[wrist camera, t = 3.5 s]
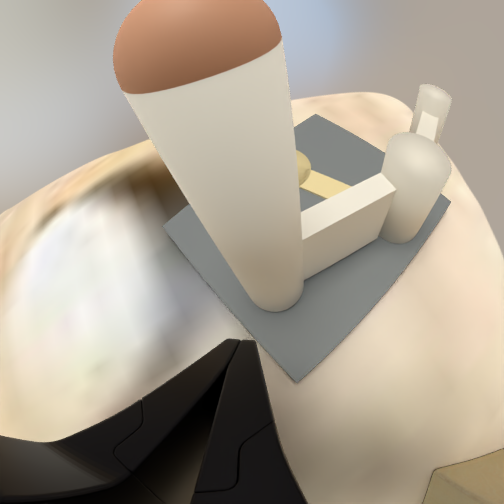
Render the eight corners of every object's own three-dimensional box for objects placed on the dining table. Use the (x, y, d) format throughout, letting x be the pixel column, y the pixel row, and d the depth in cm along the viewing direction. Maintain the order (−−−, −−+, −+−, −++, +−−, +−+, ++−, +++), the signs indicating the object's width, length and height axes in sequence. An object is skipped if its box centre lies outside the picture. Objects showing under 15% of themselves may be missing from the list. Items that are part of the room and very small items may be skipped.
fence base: (405, 259, 16) (450, 188, 9) (358, 235, 17) (380, 154, 11) (434, 166, 19) (459, 97, 12) (398, 149, 20) (414, 77, 13)
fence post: (356, 212, 17) (381, -35, 4) (386, 250, 15) (469, -8, 2) (238, 274, 16) (92, 18, 3) (262, 321, 15) (74, 33, 2)
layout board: (297, 382, 14) (296, 383, 13) (167, 233, 20) (161, 225, 19) (446, 209, 17) (452, 200, 16) (315, 122, 23) (315, 112, 22)
